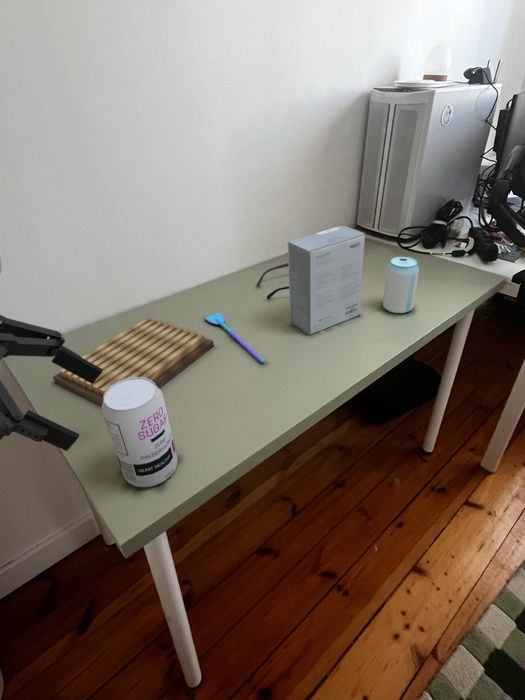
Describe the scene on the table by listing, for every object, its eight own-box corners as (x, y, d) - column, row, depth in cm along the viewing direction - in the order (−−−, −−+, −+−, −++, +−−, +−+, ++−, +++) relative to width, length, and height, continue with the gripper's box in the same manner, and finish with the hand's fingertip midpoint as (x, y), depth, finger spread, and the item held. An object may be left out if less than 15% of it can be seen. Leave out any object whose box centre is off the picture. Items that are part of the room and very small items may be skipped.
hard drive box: (339, 303, 108) (343, 224, 97) (360, 315, 103) (368, 233, 92) (288, 322, 102) (287, 240, 90) (308, 336, 96) (309, 250, 85)
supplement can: (136, 447, 71) (114, 373, 62) (184, 450, 69) (169, 375, 61) (115, 487, 64) (87, 411, 56) (168, 492, 63) (148, 414, 54)
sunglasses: (326, 292, 114) (327, 274, 111) (270, 304, 110) (270, 286, 107) (305, 273, 125) (306, 256, 122) (254, 283, 121) (253, 266, 118)
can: (376, 305, 106) (381, 259, 100) (399, 298, 109) (405, 253, 102) (395, 317, 101) (401, 269, 94) (419, 310, 103) (427, 263, 97)
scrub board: (123, 416, 77) (119, 403, 75) (54, 382, 86) (50, 370, 85) (214, 346, 95) (212, 334, 93) (148, 324, 104) (146, 313, 103)
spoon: (202, 318, 105) (201, 314, 104) (217, 313, 107) (216, 309, 106) (260, 365, 88) (260, 360, 87) (276, 358, 89) (276, 353, 89)
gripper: (-42, 295, 62) (93, 370, 71) (-171, 412, 41) (43, 496, 50) (-19, 257, 59) (118, 340, 68) (-144, 362, 38) (76, 460, 47)
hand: (86, 406), depth 59 cm, fingers open, 13 cm apart
